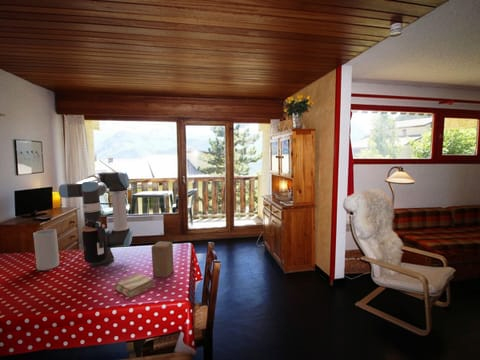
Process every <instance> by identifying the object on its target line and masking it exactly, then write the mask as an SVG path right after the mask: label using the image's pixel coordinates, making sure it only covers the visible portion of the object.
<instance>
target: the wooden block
mask: <svg viewBox="0 0 480 360" xmlns="http://www.w3.org/2000/svg"><path fill="white" fill-rule="evenodd" d="M173 248H174V246H173V242H172V241H161V240H160V241H158V242H156V243H155V244H153V245H151V263H152V264H151V265H152V276H153V277H156V278H166V279H167V278H168V277H169V276H170V275H171V274H172V273H173V272H174V267H175V265H174V251H173V250H174V249H173Z"/></svg>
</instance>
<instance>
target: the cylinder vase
mask: <svg viewBox="0 0 480 360" xmlns="http://www.w3.org/2000/svg"><path fill="white" fill-rule="evenodd" d="M32 234H33V235H32V237H33V244H34V252H35V253H34V254H35V261H36V262H35V264H36V270H38V271H41V270H42V271H49V270H52V269H54V268H55V269H56V268H57V267H59V266H60V255H59V246H58V235H57V229H56V228H48V229H47V228H46V229H42V230H38V231H36V232H33V233H32Z"/></svg>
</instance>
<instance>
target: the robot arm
mask: <svg viewBox="0 0 480 360" xmlns="http://www.w3.org/2000/svg"><path fill="white" fill-rule="evenodd" d="M129 188H130V179H129V176H128V174H127V172H126V171H106V172H104V171H103V172H98V173H94V174H91V175H88V176H87V177H86V178H85V179H82V180H78V181H75V182H72V183H62V184H60V185H59V186H58V195H59V197H60V198H64V199H66V198H67V199H69V198H82V204H83V205H82V208H83V211H84V212H83V218H84V227H85V226H87V227H89V226H90V227H92V228H97V232H98V234H97V242H96V243H97V251H98V255H100V254H103V253H104V248H103V241H105V236H104V231H103V227H102V224H103V222H102V221H99V219H100V218H101V217H102V211H101V199H100V197H101V196H103V195H105V194H106V193H107V191H108V192H109V193H110V194H111V202H112V203H111V204H112V214H113V215H112V216H113V217H112V218H113V227H112V229H111V230H110V229H109V228H104V229H105V232H106V246H107V257H106V259H105V260H103V261H101V262H98V263H89V264H90V265H89V266H91V267H103V266H107V265H110V264H112V263H113V262H114V261H115V256H114V254H113V252H112V250H111V249H112V248H120V247H121V248H124V247H128V246H130V245H131V243H132V240H133V229H130V225H128V217H127V204H126V203H127V201H126V192H127V191H128V189H129Z"/></svg>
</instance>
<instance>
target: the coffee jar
mask: <svg viewBox="0 0 480 360" xmlns="http://www.w3.org/2000/svg"><path fill="white" fill-rule="evenodd" d="M102 227H103V231H104V236H105V241H103V248H104V253H103V254H100V255H98V251H97V243H96V242H97V234H98V232H97V228H92V227H90V226H89V227H87V226H85V225H84V226H82V227H81V231H82V232H81V234H82V235H81V238H82V247H83V248H82V250H83V259H84V262H85V263H86V264H90V263H98V262H101V261H103V260H105V259H106V257H107V246H106V232H105V229H106V225H105V224H103V223H102Z"/></svg>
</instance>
